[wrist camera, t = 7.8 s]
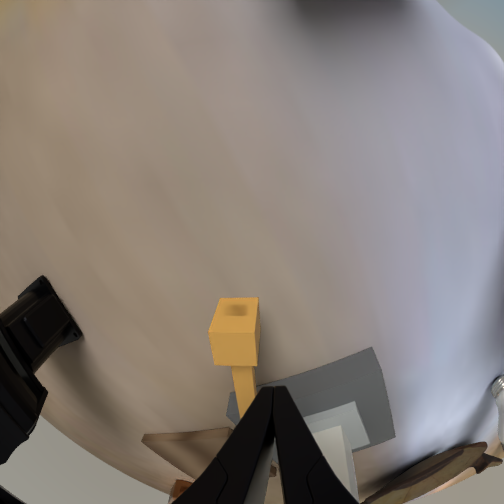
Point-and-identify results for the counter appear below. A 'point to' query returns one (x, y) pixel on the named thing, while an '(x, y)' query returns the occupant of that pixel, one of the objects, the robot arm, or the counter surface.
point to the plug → (340, 440)
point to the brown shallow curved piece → (434, 473)
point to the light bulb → (499, 404)
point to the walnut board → (190, 449)
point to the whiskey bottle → (178, 489)
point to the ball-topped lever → (237, 344)
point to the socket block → (339, 394)
